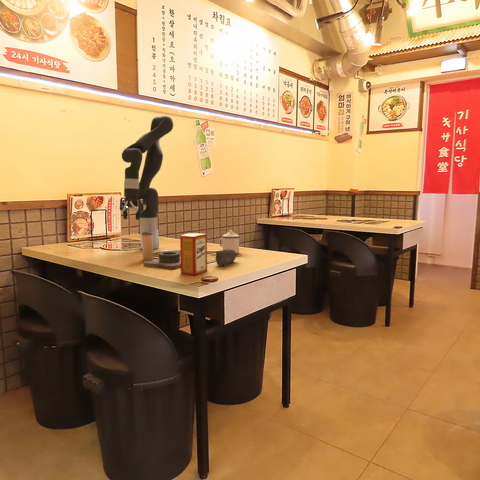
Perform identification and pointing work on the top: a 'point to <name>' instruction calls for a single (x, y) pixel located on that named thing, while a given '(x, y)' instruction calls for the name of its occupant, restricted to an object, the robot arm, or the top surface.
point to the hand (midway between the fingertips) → (131, 219)
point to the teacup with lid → (230, 241)
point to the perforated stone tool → (225, 257)
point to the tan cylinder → (147, 245)
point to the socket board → (163, 265)
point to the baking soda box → (193, 253)
